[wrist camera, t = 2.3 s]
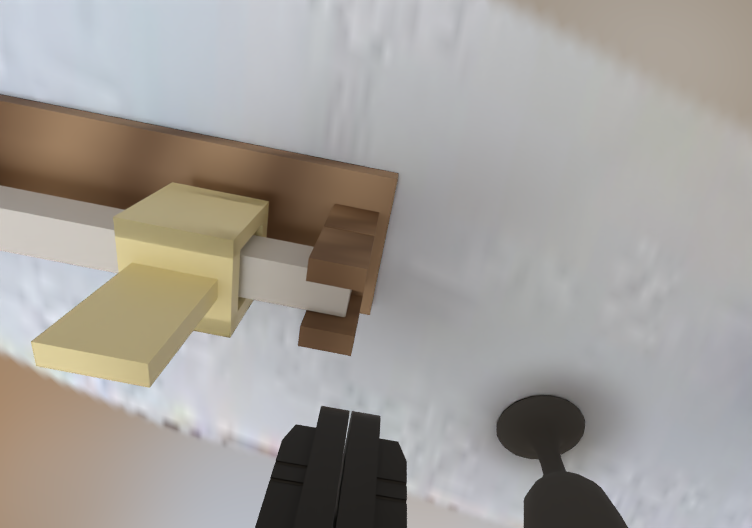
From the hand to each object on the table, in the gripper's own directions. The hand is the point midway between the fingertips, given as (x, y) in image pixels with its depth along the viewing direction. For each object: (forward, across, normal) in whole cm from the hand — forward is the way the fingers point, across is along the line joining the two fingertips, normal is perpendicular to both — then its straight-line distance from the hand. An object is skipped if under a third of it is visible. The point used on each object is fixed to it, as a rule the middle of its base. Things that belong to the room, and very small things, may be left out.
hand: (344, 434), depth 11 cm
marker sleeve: (+9, +7, 0) cm, 11 cm away
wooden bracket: (+12, +10, 0) cm, 16 cm away
